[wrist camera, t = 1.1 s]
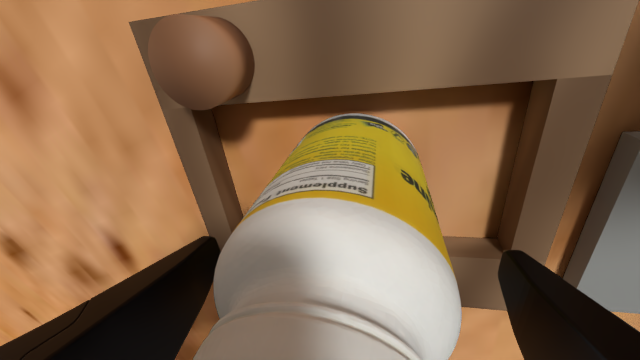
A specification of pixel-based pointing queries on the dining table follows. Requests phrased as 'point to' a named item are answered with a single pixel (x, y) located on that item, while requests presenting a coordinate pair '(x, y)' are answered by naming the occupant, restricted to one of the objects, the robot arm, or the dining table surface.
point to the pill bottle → (338, 257)
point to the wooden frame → (396, 75)
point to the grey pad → (612, 235)
